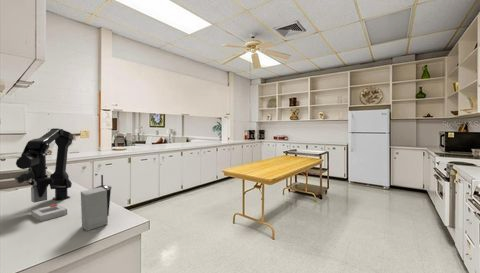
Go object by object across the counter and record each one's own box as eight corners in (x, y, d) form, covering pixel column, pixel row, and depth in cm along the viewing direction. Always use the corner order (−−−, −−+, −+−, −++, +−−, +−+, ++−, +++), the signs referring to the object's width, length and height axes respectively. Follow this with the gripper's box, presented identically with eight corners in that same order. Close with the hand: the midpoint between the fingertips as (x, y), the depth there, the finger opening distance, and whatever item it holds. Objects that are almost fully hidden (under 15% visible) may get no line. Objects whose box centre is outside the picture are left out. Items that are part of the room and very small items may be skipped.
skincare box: (102, 220, 99) (102, 186, 98) (108, 225, 94) (108, 189, 94) (80, 227, 92) (79, 190, 92) (85, 232, 88) (85, 193, 87)
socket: (31, 215, 103) (31, 209, 103) (57, 209, 112) (57, 203, 112) (40, 221, 97) (40, 214, 97) (67, 214, 106) (67, 207, 105)
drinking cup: (89, 217, 102) (88, 175, 101) (105, 212, 109) (105, 172, 108) (98, 221, 98) (98, 177, 97) (115, 215, 105) (114, 174, 104)
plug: (31, 201, 108) (30, 186, 107) (44, 198, 112) (43, 184, 112) (34, 202, 106) (33, 188, 105) (47, 199, 110) (46, 185, 109)
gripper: (9, 165, 106) (10, 197, 107) (21, 170, 96) (22, 204, 97) (39, 162, 115) (40, 191, 116) (53, 166, 106) (53, 198, 106)
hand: (38, 196), depth 109 cm, fingers closed on plug, 4 cm apart
